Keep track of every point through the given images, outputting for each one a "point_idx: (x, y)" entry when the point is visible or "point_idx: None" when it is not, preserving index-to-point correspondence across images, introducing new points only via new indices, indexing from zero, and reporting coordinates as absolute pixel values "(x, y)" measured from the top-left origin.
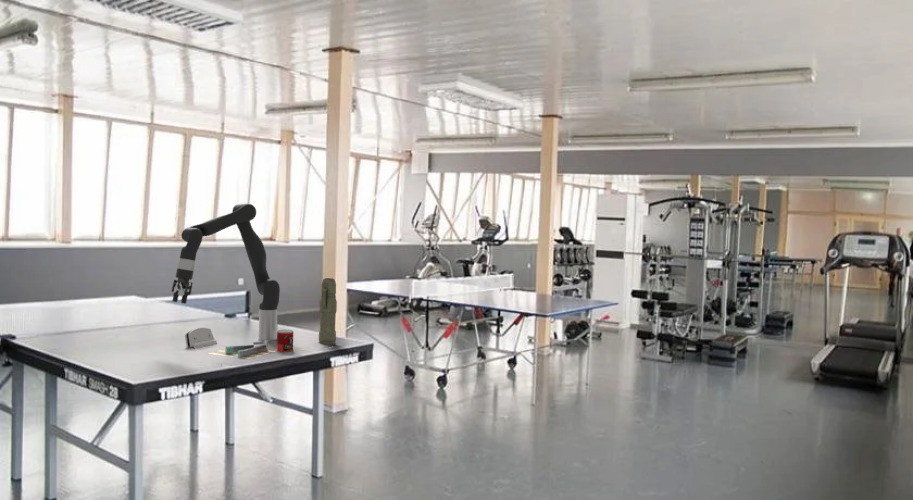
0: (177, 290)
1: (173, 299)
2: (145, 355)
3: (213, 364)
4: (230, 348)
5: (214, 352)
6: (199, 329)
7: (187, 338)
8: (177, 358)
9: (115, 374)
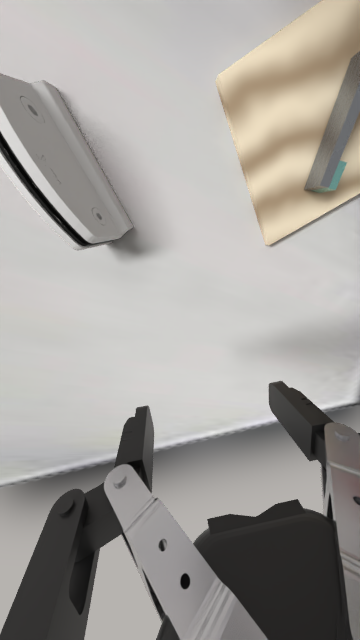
0: (82, 519)
1: (153, 441)
2: (170, 358)
3: (354, 267)
4: (339, 176)
5: (267, 215)
6: (45, 171)
7: (94, 243)
8: (242, 313)
9: None
